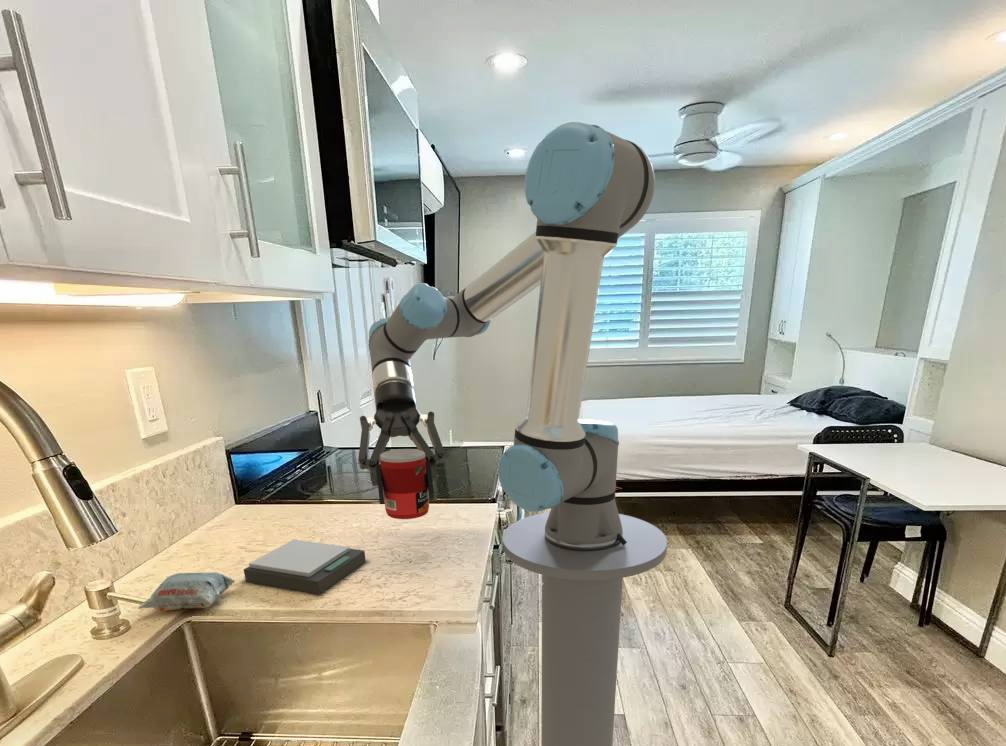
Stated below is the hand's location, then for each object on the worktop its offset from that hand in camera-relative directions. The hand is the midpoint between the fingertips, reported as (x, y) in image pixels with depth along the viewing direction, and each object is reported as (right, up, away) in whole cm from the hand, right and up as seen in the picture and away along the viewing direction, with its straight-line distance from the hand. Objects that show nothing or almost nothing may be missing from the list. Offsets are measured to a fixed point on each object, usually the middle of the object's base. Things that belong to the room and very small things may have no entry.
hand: (407, 498), depth 99 cm
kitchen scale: (-19, -13, +6) cm, 24 cm away
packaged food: (-35, -18, -6) cm, 40 cm away
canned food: (-1, -3, +5) cm, 5 cm away
